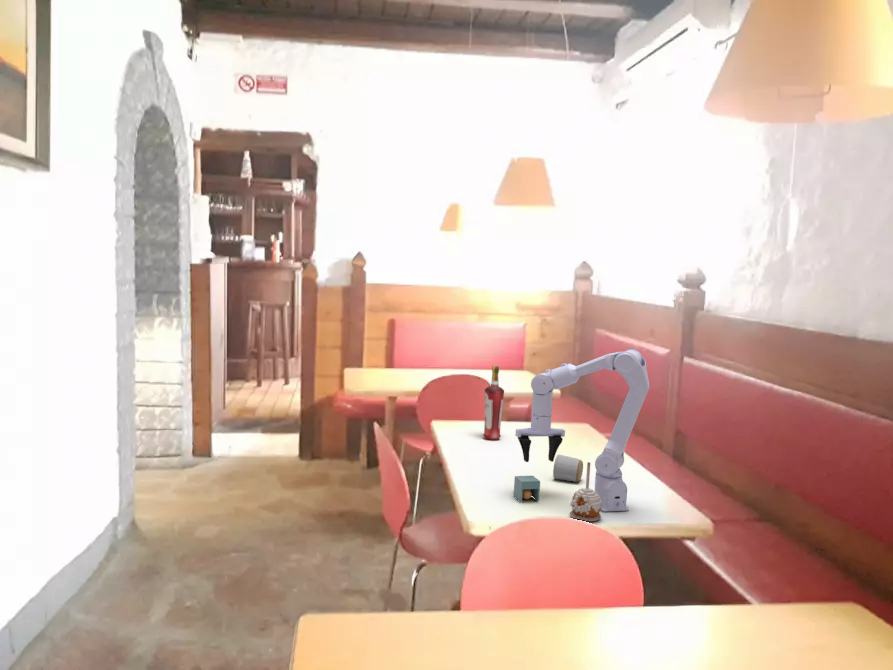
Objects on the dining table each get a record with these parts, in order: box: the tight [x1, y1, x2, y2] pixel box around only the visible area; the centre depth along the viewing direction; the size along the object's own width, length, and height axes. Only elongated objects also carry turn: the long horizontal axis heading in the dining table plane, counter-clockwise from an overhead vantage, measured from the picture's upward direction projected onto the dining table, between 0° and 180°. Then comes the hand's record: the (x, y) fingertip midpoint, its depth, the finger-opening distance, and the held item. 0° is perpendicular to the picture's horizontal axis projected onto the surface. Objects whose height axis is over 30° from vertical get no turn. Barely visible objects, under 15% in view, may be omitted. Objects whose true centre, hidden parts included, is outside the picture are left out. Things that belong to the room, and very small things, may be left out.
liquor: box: [482, 365, 505, 441], centre depth 285 cm, size 7×7×28 cm
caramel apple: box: [569, 462, 602, 522], centre depth 198 cm, size 8×8×15 cm
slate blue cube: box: [513, 475, 541, 503], centre depth 212 cm, size 6×6×6 cm
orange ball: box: [522, 489, 532, 500], centre depth 212 cm, size 3×3×3 cm
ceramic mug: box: [552, 454, 584, 483], centre depth 235 cm, size 11×8×8 cm
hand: (538, 460), depth 217 cm, fingers open, 7 cm apart
